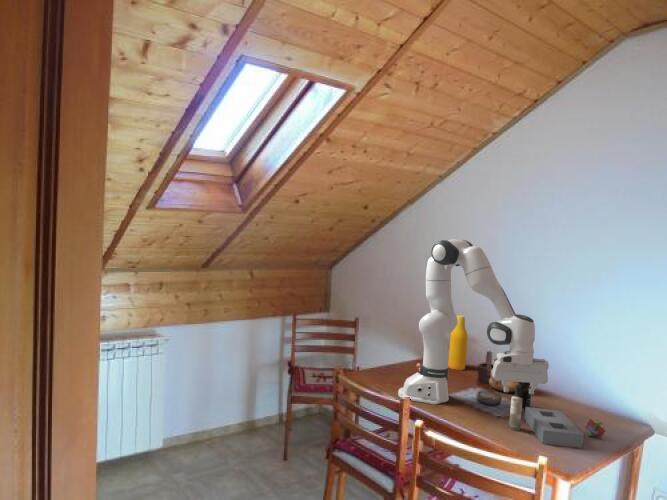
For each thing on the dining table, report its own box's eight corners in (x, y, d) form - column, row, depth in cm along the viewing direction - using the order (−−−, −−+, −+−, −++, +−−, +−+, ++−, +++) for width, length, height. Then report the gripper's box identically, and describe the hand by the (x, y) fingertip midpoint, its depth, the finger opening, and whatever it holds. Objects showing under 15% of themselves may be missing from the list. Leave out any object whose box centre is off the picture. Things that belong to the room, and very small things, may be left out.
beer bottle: (446, 364, 284) (451, 313, 283) (463, 366, 283) (468, 315, 282) (448, 369, 275) (453, 316, 274) (466, 371, 274) (470, 318, 273)
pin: (510, 429, 195) (513, 399, 194) (507, 425, 199) (510, 395, 198) (520, 431, 194) (523, 400, 194) (518, 427, 198) (520, 397, 198)
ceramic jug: (505, 383, 256) (507, 355, 256) (528, 392, 243) (530, 363, 243) (478, 387, 248) (480, 358, 247) (501, 396, 235) (503, 366, 234)
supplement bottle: (531, 410, 218) (534, 383, 218) (515, 408, 220) (517, 381, 219) (528, 405, 225) (531, 378, 225) (512, 403, 226) (515, 376, 226)
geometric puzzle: (613, 435, 191) (602, 414, 195) (603, 438, 187) (593, 417, 191) (597, 440, 196) (587, 420, 200) (587, 443, 192) (577, 422, 196)
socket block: (542, 443, 184) (543, 430, 184) (524, 418, 208) (525, 406, 208) (582, 447, 183) (583, 434, 182) (559, 422, 206) (560, 410, 206)
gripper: (546, 357, 197) (543, 392, 198) (492, 353, 199) (490, 388, 200) (551, 361, 191) (549, 397, 191) (496, 357, 193) (493, 393, 193)
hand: (518, 392), depth 196 cm, fingers open, 8 cm apart
